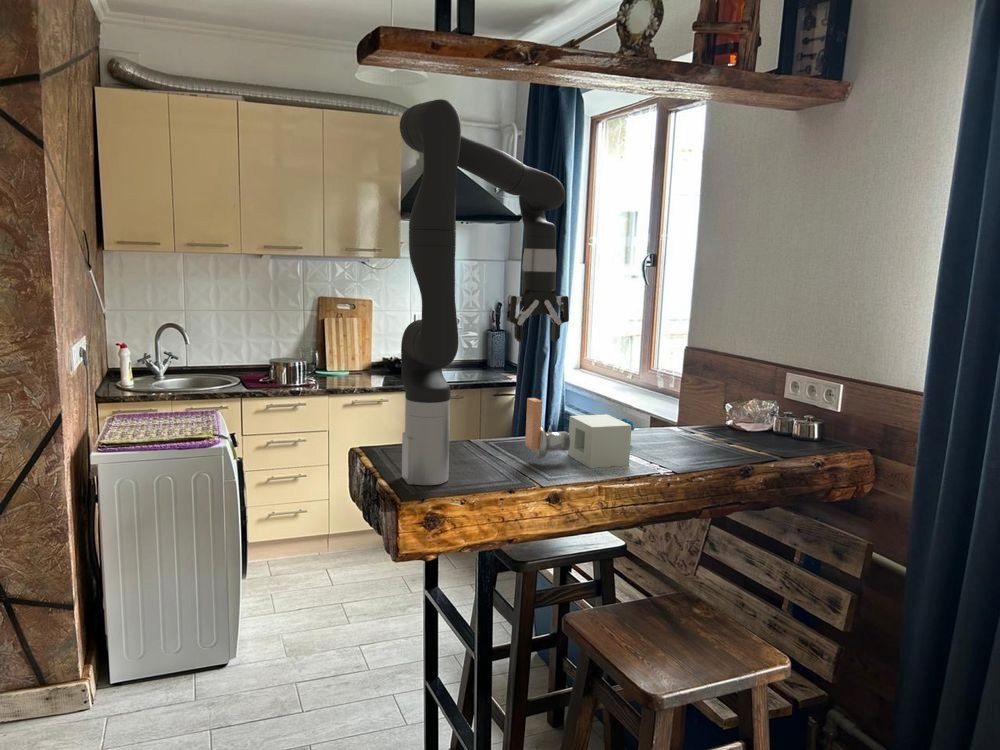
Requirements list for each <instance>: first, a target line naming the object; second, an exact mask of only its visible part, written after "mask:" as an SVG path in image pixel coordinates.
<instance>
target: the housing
mask: <svg viewBox="0 0 1000 750" xmlns="http://www.w3.org/2000/svg"><path fill="white" fill-rule="evenodd" d="M568 421H569V424H568V425H569V426H568V434H569V437H570V447H569V449H568V450H567V455H568V456H570V457H571V458H573V459H575V460H576V461H578V462H579V463H581V464H583V465H584V466H586V467H587V468H589V469H598V468H597V467H600V468H611V466H615V467H625V466H627V467H628V466H630V458H631V457H630V455H631V439H632V431H631V427H632V425H630V424H628V423H625V422H623V421H622V419H619V418H618V419H616V417H614V416H612V415H609V414H606V413H604V414H585V415H570V416H569V420H568Z"/></svg>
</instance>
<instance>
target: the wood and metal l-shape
mask: <svg viewBox="0 0 1000 750" xmlns="http://www.w3.org/2000/svg"><path fill="white" fill-rule="evenodd" d="M542 408H543V401H542V400H541V399H539V398H537V397H527V398H526V421H525V441H524V442H525V443H524V445H525V446H526V447H527V448H529V449H530V450H531V453H532V455H533V457H534V458H535V460H543V459H545V457H546V455H547V452H548V453H550V452H565V451H567V452H568V449H569V447H570V437H569V432H568V431H550V432H549V431H548V432H546V430H545V428H544V427H543V426H542V412H543V409H542Z"/></svg>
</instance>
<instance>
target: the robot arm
mask: <svg viewBox="0 0 1000 750" xmlns="http://www.w3.org/2000/svg"><path fill="white" fill-rule="evenodd" d="M461 123H462V122H461V117H460V115H459V113H458V110H457V108H456V106H454V104H453V103H452V102H450V101H449V100H446V99H444V98H443V99H442V98H441V99H440V98H439V99H433V100H429V101H425V102H421V103H417V104H414V105H412V106H411V107H409V108H407V109H406V110H405V111H404V112H403V113H402V115H401V117H400V121H399V132H400V135H401V138H402V139H403V141H404V143H405V144H406V146H408V147H409V148H410V149H412V150H414V151H415V152H419V153H421V154H423V171H422V173H423V174H422V179H421V183H420V186H419V189H418V192H417V194H416V198H415V200H414V203H413V206H412V208H411V212H410V216H409V221H408V251H409V261H410V264H411V267H412V270H413V273H414V276H415V279H416V282H417V285H418V288H419V292H420V298H421V319H416V320H414V321H412V322H411V323H409V324H408V325H407V327H406V328H405V329H404V332H403V335H402V337H401V344H400V346H401V348H400V355H401V356H400V357H401V382H402V385H403V388H404V398H405V399H404V400H405V402H404V403H405V409H404V410H405V411H404V417H405V418H404V431H403V432H402V438H401V439H402V440H401V441H402V442H401V443H402V444H401V446H402V448H401V477H402V479H403V480H404V482H406V484H407V485H418V486H435V485H436V486H437V485H442V484H444V483H445V484H446V482H448V481H449V472H450V467H449V465H450V464H449V463H450V461H449V460H450V426H451V423H450V422H451V392H452V391H451V390H452V389H451V386H450V384H449V383H448V381H447V380H446V379H445V377H444V374H443V370H442V369H444V368H447V367H449V366H450V365H451V364H452V363H453V362H454V360H455V358H456V356H457V353H458V351H459V329H458V318H457V316H458V315H457V307H456V252H457V251H456V249H457V248H456V247H457V246H456V245H457V241H456V240H457V239H456V238H457V236H456V235H457V232H456V230H457V225H456V224H457V223H456V221H457V220H456V219H457V218H456V216H457V215H456V212H457V211H456V209H457V208H456V207H457V177H458V176H457V175H458V168H459V169H462V170H464V171H466V172H468V173H470V174H472V175H474V176H476V177H478V178H480V179H482V180H483V181H485V182H487V183H488V184H489V185H490V184H491V185H492V186H494V187H496V189H499V190H501V191H502V192H505V193H506V194H508V195H512V196H518V204H519V208H520V213H521V219H522V223H523V226H524V250H523V257H522V265H521V267H522V281H521V284H522V285H521V291H522V292H521V295H520V296H518V295H511V294H509V296H507V297H508V298H507V306H506V307H507V308H506V317H505V318H506V321H507V322H509V323H511V324H513V325H514V327H513V328H514V329H513V330H514V331H513V332H514V334H513V335H514V336H513V337H514V339H515V340H516V342H518V343H523V340H524V339H523V337H524V336H523V335H524V325H523V324H524V322H525V321H526V320H527V319H528V318H529V317H530V316H531V315H532V316H537V315H540V316H547V317H549V318H548V319H550V321H551V323H552V324H551V329H550V331H551V334H550V336H551V337H550V340H551V341H552V342H558V340H559V339H560V338H561V325H562V324H564V323H568V322H569V321H570V312H569V311H570V310H569V309H570V308H569V306H570V303H569V296H567V295H559V296H557V295H556V290H557V289H556V287H557V285H556V283H557V249H556V248H557V227H556V225H555V224H554V223H552V222H549V221H547V218H546V214H545V211H554V210H557V209H558V208H560V207H561V206H562V204H564V202H565V199H566V191H565V188H564V185H563V183H561V181H560V180H559V179H558V178H557V177H556V176H554V175H551V174H550V173H548V172H544V171H542V170H539V169H538V168H535V167H534V168H533V167H531V166H527V165H526V164H524V163H523V162H522V161H520V160H518V159H517V158H515V157H513V156H512V155H510V154H508V153H506V152H505V151H503V150H501V149H498V148H495V147H493V146H491V145H487V144H485V143H483V142H479V141H476V140H472V139H470V138H468V137H466V136H464V135H462V125H461ZM519 303H521V305H522V308H521V309H520V311H519V312H518V314H516V313H517V312H516V311H517V306H519ZM556 303H557V305H558V306H559V316H558V313H557V312H556V310H555V308H554V306H555V305H556ZM516 315H517V316H516Z"/></svg>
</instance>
